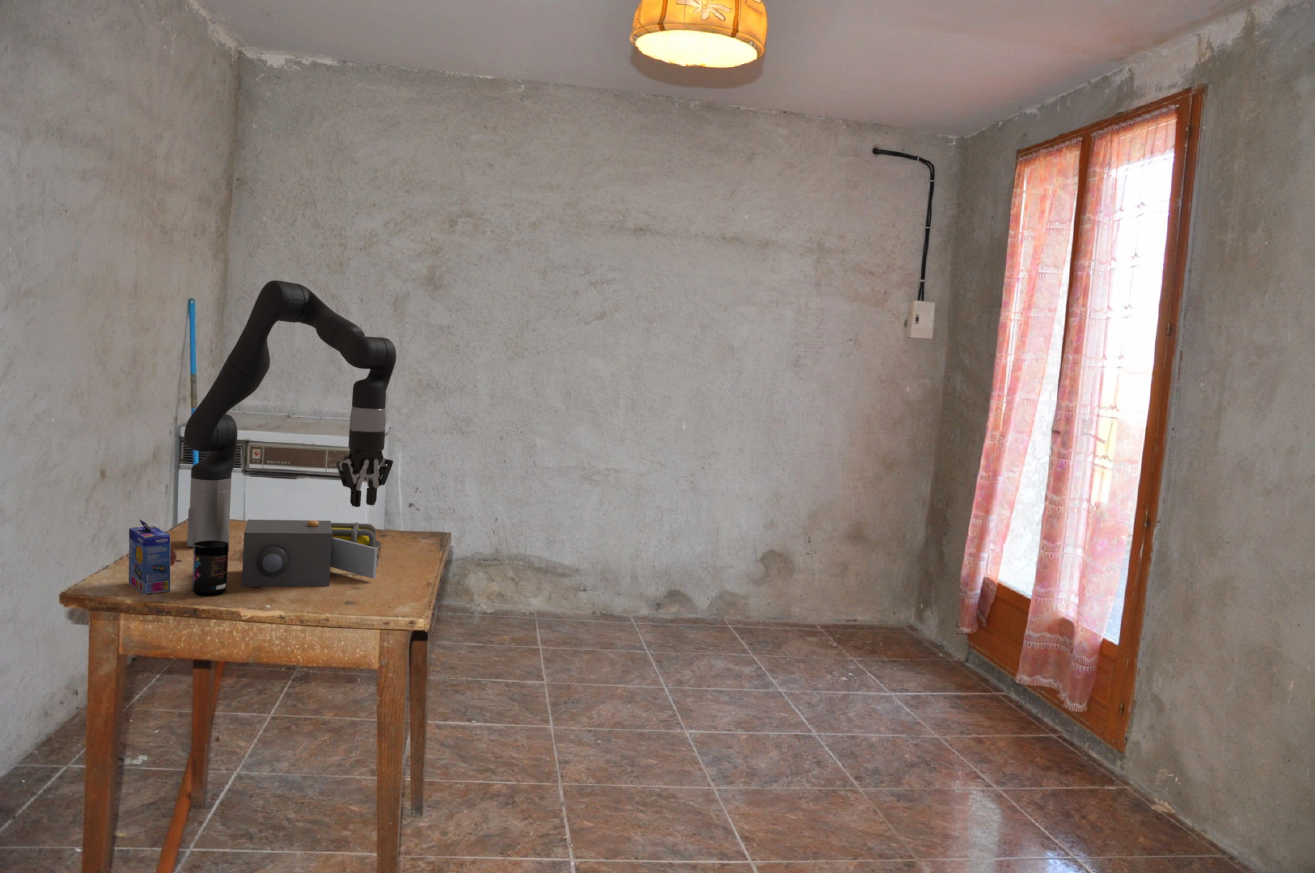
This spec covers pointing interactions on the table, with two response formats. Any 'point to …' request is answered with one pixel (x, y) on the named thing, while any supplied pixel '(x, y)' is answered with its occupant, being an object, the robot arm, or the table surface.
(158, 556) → the ink cartridge box
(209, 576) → the supplement container
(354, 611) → the table surface
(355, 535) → the cage light
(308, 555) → the block
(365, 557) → the side door
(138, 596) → the table surface
